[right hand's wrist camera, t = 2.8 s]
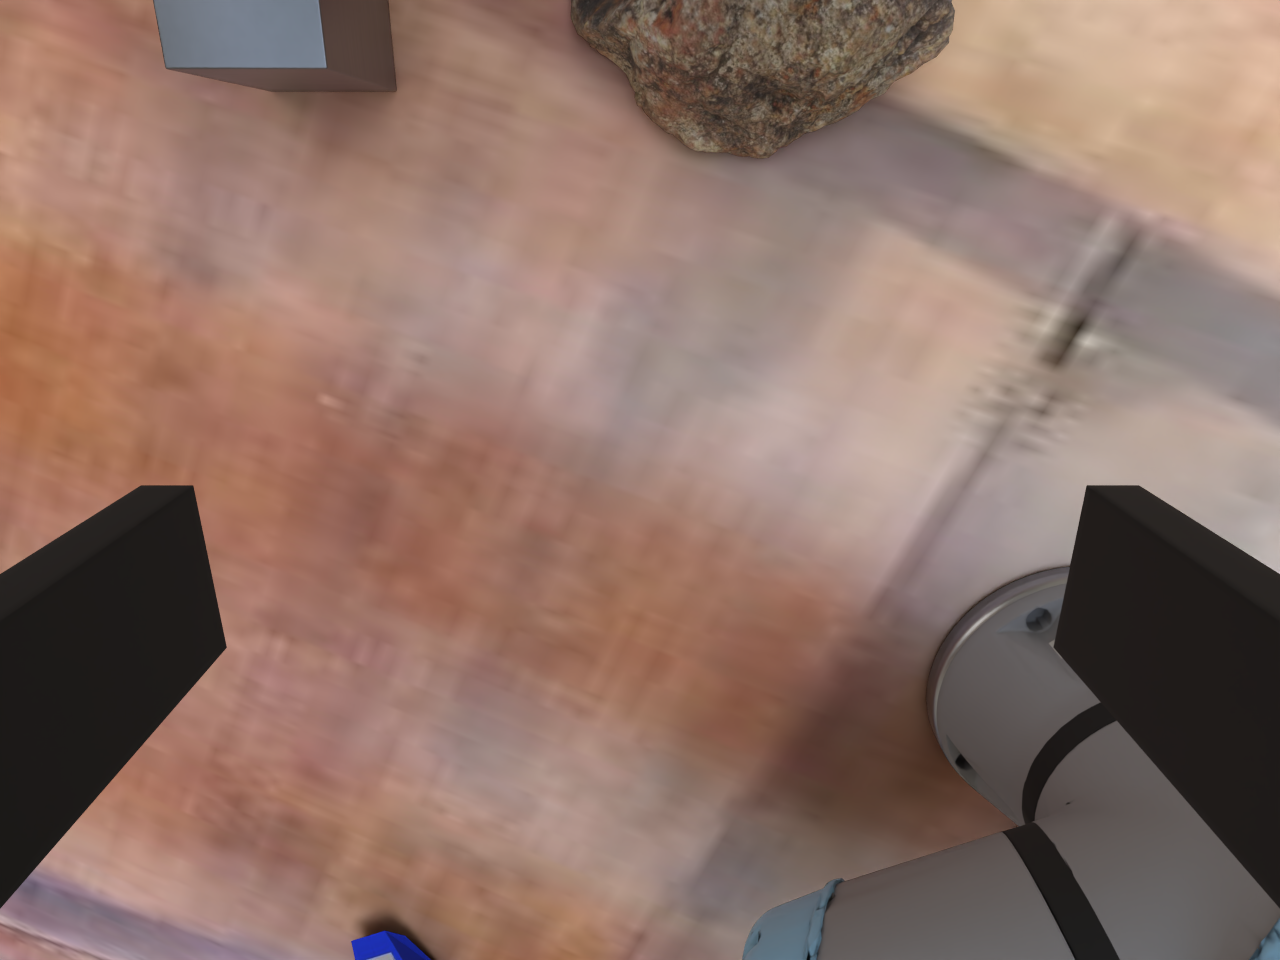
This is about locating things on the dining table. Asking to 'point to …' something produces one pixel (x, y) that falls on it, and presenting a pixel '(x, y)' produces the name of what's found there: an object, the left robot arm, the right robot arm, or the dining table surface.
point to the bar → (281, 43)
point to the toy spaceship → (386, 948)
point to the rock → (760, 61)
